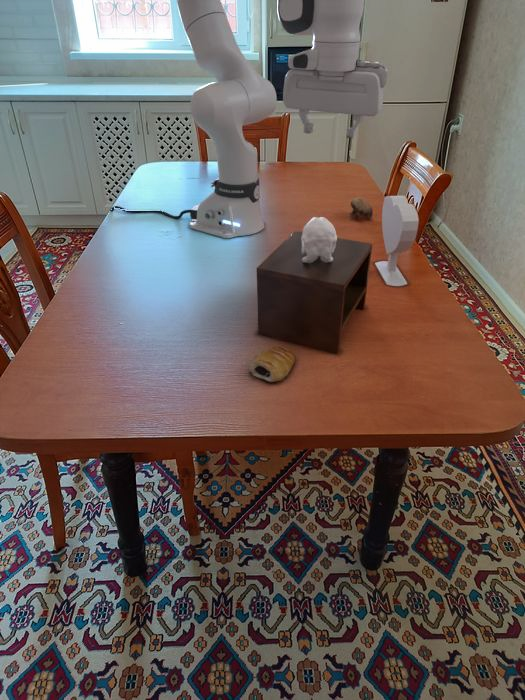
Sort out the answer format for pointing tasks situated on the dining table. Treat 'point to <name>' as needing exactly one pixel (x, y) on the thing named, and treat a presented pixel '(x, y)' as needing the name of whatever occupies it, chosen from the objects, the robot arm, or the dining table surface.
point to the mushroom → (360, 209)
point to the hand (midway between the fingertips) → (329, 135)
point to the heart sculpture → (397, 236)
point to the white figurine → (318, 240)
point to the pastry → (273, 364)
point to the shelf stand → (311, 292)
